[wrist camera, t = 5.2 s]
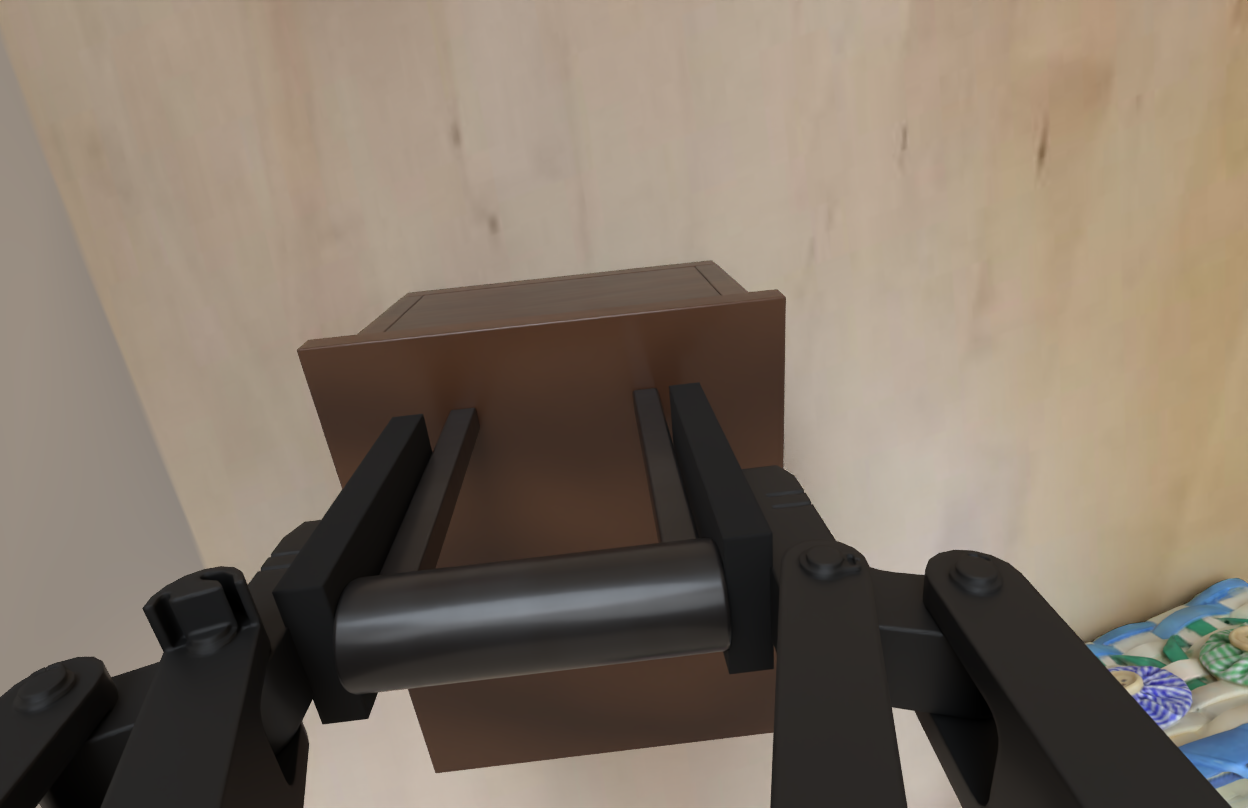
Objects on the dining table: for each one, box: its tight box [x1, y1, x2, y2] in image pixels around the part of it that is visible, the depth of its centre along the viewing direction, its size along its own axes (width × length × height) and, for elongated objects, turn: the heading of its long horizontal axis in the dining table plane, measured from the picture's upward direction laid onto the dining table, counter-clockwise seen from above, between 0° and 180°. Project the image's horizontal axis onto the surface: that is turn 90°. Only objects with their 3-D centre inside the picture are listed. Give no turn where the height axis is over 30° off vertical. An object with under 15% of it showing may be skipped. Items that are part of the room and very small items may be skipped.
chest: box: [357, 261, 748, 335], centre depth 25 cm, size 16×13×9 cm
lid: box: [297, 290, 786, 773], centre depth 16 cm, size 17×13×10 cm
